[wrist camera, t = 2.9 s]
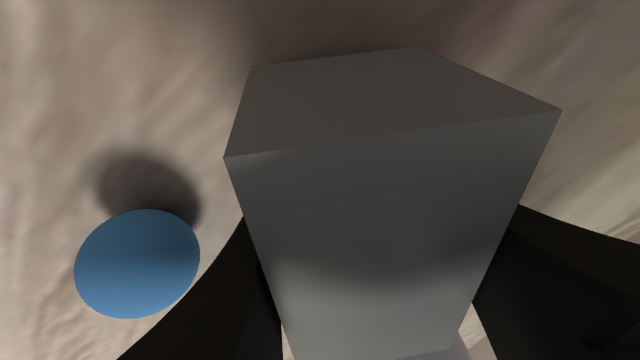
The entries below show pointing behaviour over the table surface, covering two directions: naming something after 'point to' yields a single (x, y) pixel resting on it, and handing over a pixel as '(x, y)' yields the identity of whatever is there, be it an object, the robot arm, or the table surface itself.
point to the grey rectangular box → (379, 194)
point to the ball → (136, 263)
